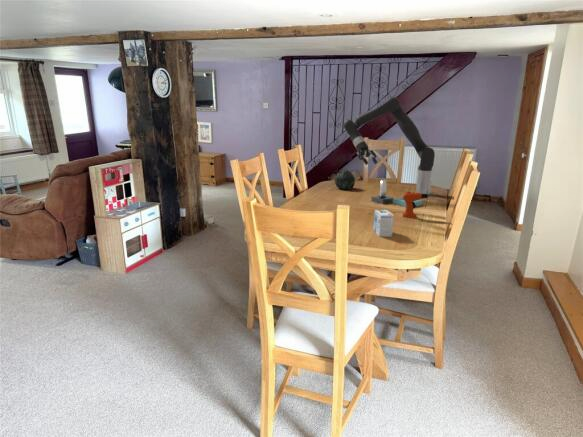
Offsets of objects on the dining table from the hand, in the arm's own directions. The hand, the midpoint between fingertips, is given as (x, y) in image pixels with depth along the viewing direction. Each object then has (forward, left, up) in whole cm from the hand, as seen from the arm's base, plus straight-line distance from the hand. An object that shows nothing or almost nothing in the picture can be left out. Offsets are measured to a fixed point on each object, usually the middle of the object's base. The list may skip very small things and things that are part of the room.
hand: (371, 163), depth 272 cm
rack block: (-7, +26, -23) cm, 36 cm away
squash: (-8, -33, -24) cm, 41 cm away
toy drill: (+14, +50, -24) cm, 57 cm away
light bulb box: (+53, +59, -24) cm, 83 cm away
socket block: (+1, +12, -23) cm, 26 cm away
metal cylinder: (+1, +12, -23) cm, 26 cm away
